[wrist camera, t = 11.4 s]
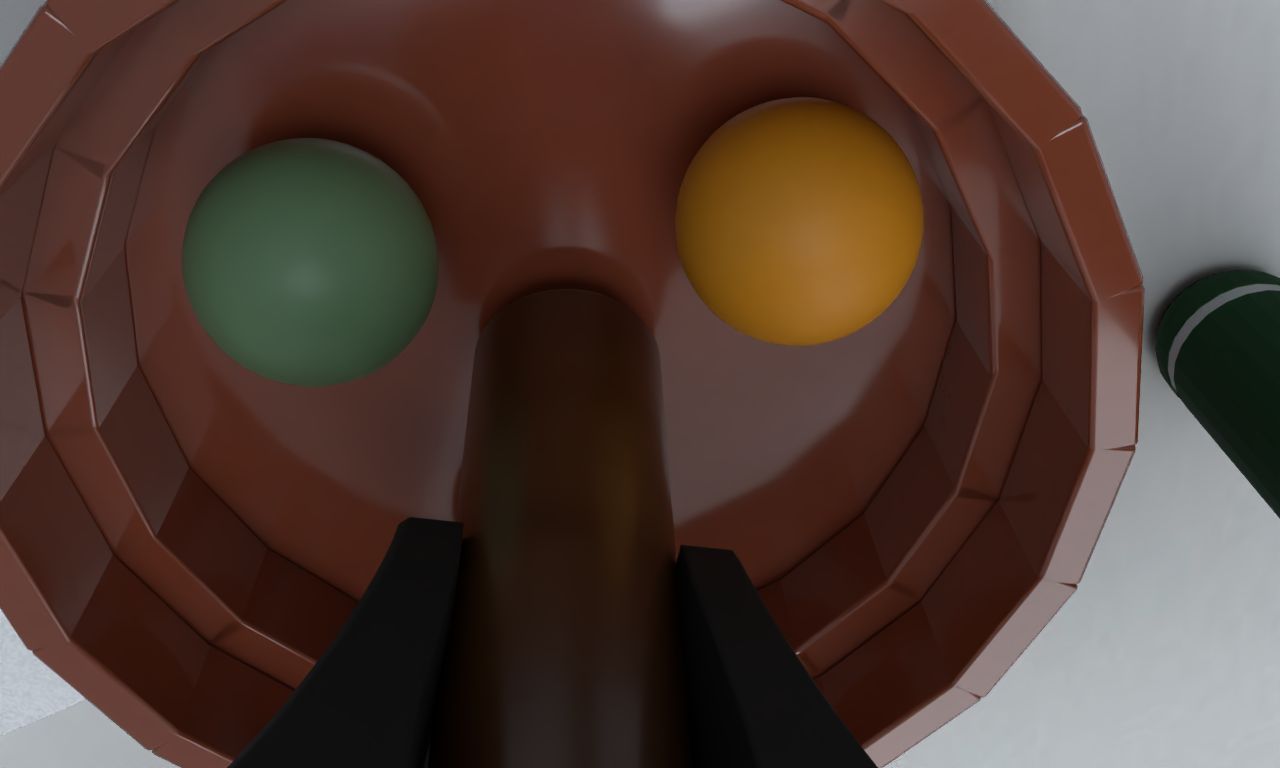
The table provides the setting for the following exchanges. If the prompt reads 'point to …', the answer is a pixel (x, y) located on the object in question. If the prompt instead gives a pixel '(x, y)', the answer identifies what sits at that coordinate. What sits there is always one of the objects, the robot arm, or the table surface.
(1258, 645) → the table surface
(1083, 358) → the bowl
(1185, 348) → the flashlight
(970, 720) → the table surface
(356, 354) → the sage bead
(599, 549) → the stick
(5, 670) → the cloth
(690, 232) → the amber bead
